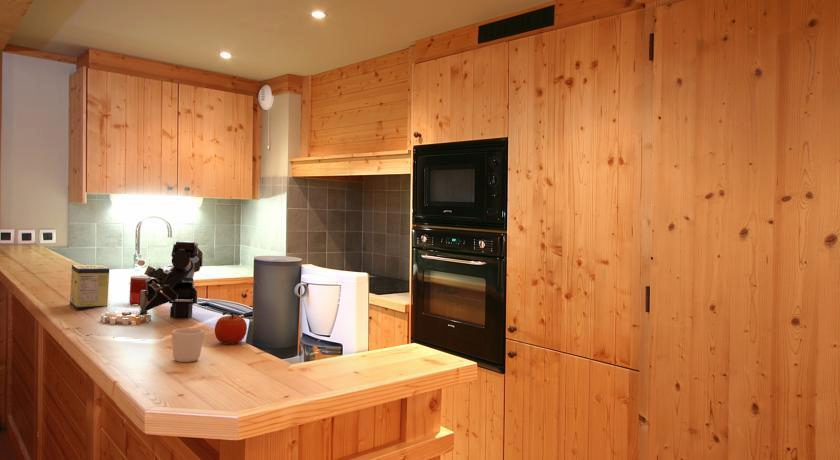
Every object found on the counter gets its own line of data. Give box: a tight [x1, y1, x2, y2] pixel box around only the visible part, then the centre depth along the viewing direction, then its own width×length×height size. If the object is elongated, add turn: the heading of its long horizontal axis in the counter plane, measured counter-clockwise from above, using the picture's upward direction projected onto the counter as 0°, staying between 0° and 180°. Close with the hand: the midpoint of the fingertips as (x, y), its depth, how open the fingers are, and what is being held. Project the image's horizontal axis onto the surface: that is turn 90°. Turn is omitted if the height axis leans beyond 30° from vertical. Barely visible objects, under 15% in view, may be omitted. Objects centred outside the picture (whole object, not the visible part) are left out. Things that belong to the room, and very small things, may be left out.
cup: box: [171, 327, 205, 363], centre depth 157 cm, size 11×8×8 cm
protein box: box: [69, 264, 110, 311], centre depth 221 cm, size 10×16×16 cm
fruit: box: [214, 310, 248, 345], centre depth 179 cm, size 10×10×10 cm
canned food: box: [128, 275, 150, 305], centre depth 236 cm, size 8×8×11 cm
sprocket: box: [100, 290, 152, 326], centre depth 196 cm, size 15×15×10 cm
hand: (142, 307), depth 197 cm, fingers open, 7 cm apart
